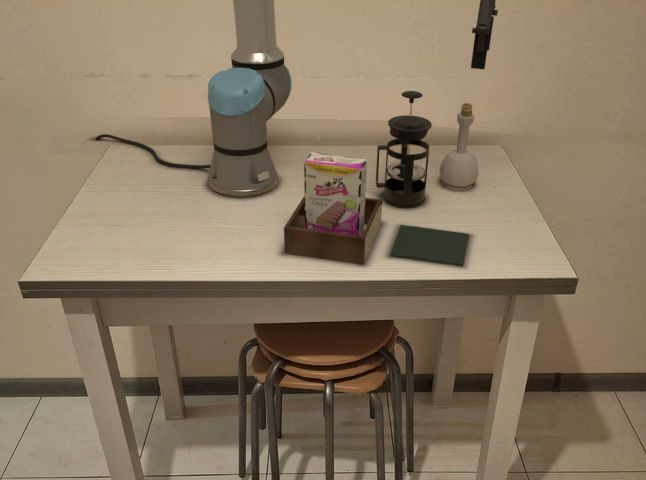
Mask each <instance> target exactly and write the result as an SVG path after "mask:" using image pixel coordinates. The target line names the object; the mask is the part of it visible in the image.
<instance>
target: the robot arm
mask: <svg viewBox="0 0 646 480" xmlns="http://www.w3.org/2000/svg"><path fill="white" fill-rule="evenodd" d="M496 1H497V0H479V7H478V13H477V20H476V25H475V27H472V29H471V34H474V39H473V48H472V53H471V54H472V55H471V63H470V69H473V70H486V63H487V62H486V61H487V56H488V51H490V47H491V40H492V32H493V26H494V19H495V17H498V14H499V13H498V11H499V9H496ZM232 4H233V15H234V26H235V27H234V28H235V37H236V38H235V39H236V48H235V49H234V50H233V51H232V53H231V54H230V60H231V61H230V62H231V68H227V69H226V70H220V71H218V72H216V73H214V74H213V75H212V76H211V78H210V79H209V82H208V85H207V102H208V107H209V108H208V109H209V116H210V124H211V125H210V126H211V135H212V142H213V143H212V144H213V153H212V158H211V162H210V164H200V165H199V164H185V163H184V164H183V163H174V162H169V161H167V160H163V159H161V157H159V156H158V154H157V152H156V151H155V150H154V149H153V148H151V147H150V146H148V145H146V144H144V143H141V142H138V141H134V140H130V139H126V138H121V137H119V136H115V135H113V134H107V133H101V134H99V135H98V136H96V137H95V139H94V140H95V141H99V140H100V139H103V138H109V139H113V140H116V141H118V142H122V143H126V144H131V145H134V146H137V147H141V148H143V149H145V150H147V151H149V152H150V153H151V154H152V156H153V158H154V159H155V160H156V161H157V162H158V163H160V164H162V165H165V166H169V167H175V168H182V169H183V168H184V169H196V170H197V169H200V170H201V169H209V171H208V184H209V187H210V189H211V190H212V191H214V192H215V193H218V194H219V195H222V196H228V197H235V198H247V197H253V196H254V197H257V196H259V195H263V194H265V193H266V194H267V193H268V192H270V191H271V190H273V189H274V188H275V187H276V186H277V184H278V173H277V169H276V167H275V164H274V161H273V159H272V156H271V153H270V151H269V148H268V132H267V131H268V129H267V123H268V121H269V120H270V119H271V118H272V117H273V116H274V115H276V113H278V111H280V110H281V109H282V108H283V107H284V106H285V105H286V103H287V101H288V99H289V97H290V94H291V92H292V83H293V81H292V76H291V73H290V70H289V69H288V67H287V66H286V65H285V54H284V52H283V50H281V49H280V48H279V47H278V45H277V33H276V32H277V30H276V13H275V11H276V10H275V0H232Z"/></svg>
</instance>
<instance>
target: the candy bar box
mask: <svg viewBox="0 0 646 480" xmlns="http://www.w3.org/2000/svg"><path fill="white" fill-rule="evenodd" d="M367 172H368V159H366V158H357V157H349V156H341V155H336V154H335V155H334V154H327V153H320V152H314V151H310V153H309V154H308V155H307V158H305V160H304V161H303V176H304V177H303V178H304V179H303V180H304V182H303V184H304V186H303V188H304V196H305V227H304V229H311V230H318V231H326V232H333V233H341V234H348V235H355V236H362V235H363V233H364V230H365V224H364V215H365V198H366V192H367V191H366V190H367Z"/></svg>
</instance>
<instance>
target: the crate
mask: <svg viewBox="0 0 646 480" xmlns="http://www.w3.org/2000/svg"><path fill="white" fill-rule="evenodd" d="M382 209H383V199H380V198H372V197H365V215H364V225H366V226H365V227H364V233H363V235H362V236H355V235H348V234H341V233H333V232H326V231H318V230H311V229H305V195H303V197H302V198H301V200H300V202H299V203H298V205H297V206H296V208H295V210H294V211H293V213H292V214H291V216H290V217H289V219H288V220H287V222H286V223H285V225H284V226H283V242H284V243H283V245H284V254H287V255H295V256H301V257H307V258H308V257H309V258H317V259H322V260H329V261H337V262H343V263H350V264H351V263H352V264H359V265H365V263H366V261H367V258H368V256H369V254H370V251H371V249H372V247H373V244H374V242H375V239H376V237H377V234H378V232H379V230H380V227H381V225H382V214H383V213H382V211H383V210H382Z"/></svg>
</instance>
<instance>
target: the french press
mask: <svg viewBox="0 0 646 480" xmlns="http://www.w3.org/2000/svg"><path fill="white" fill-rule="evenodd" d="M401 96H402V97H404V98H405V99H409V100H408V103H409V104H410V105H409V107H410V108H409V115H397V116H393V117H391V118H390V119H388V121H387V125H388V127H389V135H390V136H391V137H393V138H394V139H391V140H389V141H388V142H387V143H386V144H385V145H384V144H383V145H382V144H381V145H380V144H379V145H377V147H376V148H377V150H376V168H375V169H376V170H375V187H376V188H378V189H381V188H382V189H383V188H384V189H383V190H384V191H383V194H382V200H383V201H384V202H385V204H387V205H389V206H392V207H395V208H400V209H413V208H414V209H415V208H418V207H420V206H422V205H423V204H425V202H426V198H427V197H426V187H427V178H428V177H427V176H428V166H429V156H430V145H429V144H428V142H426V141H424V140H423V139H426V136H427V135H428V132H429V130H430V129H431V128H432V126H433V124H432V122H431V121H430V120H429V119H428V118H425V117H422V116H418V115H412V112H413V104H414V103H415V99H420V98H422V97H423V96H424V95H423V94H422V92H419V91H416V90H406V91H403V92H401ZM398 145H399V146H400V145H401V148H400V152H397V151H394V150H393V149H391V148H392V147H394V146H398ZM411 145H413V146H418V147H421V148H423V149H424V150H425V151H422V152H419V153H410V146H411ZM380 151H386V153H385V155H386V156H385V170H384V171H385V172H384V182H379V170H380ZM389 157H391V158H393V159H396V160H399V161H400V163H394V164H391V165H389V166H388V162H389ZM423 159H425V168H424V167H422V166H420V165H418V164H415V161H420V160H423ZM388 177H389V178H388ZM422 179H424V180H422ZM400 191H402V192H400Z"/></svg>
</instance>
